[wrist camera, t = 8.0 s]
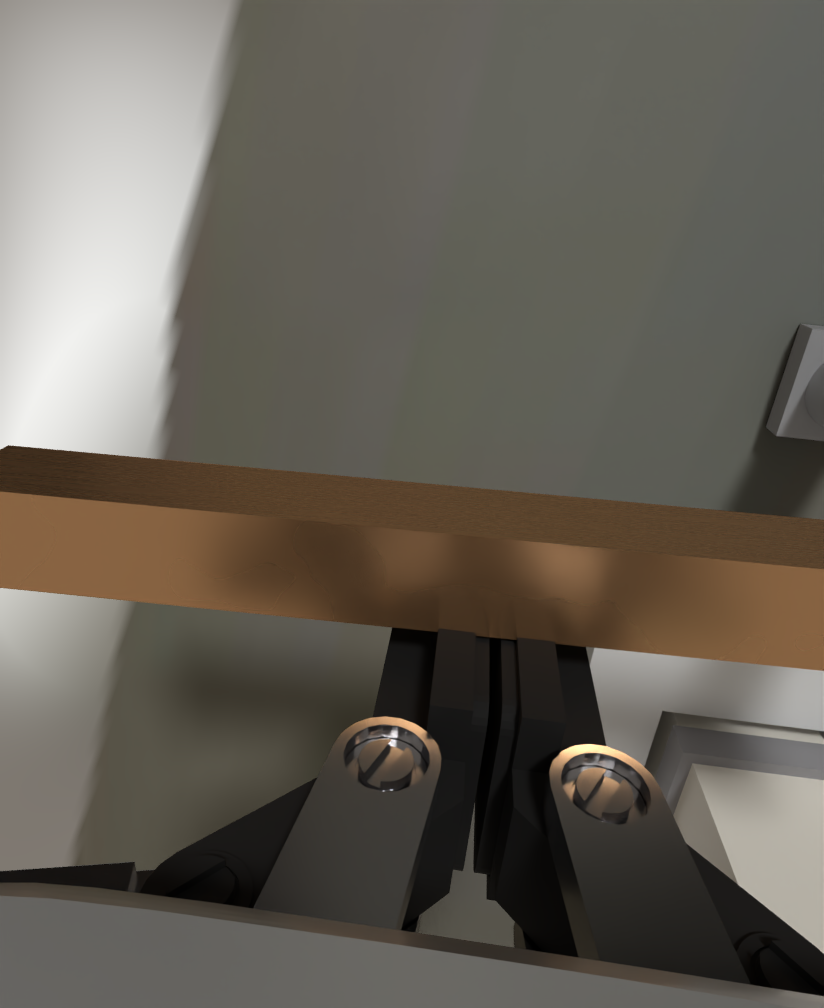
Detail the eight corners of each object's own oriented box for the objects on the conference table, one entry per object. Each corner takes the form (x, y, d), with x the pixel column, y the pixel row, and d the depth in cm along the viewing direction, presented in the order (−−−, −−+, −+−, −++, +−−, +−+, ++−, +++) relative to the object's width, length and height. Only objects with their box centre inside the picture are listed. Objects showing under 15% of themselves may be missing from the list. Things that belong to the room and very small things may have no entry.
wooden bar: (1441, 516, 9) (1686, 600, 7) (1290, 705, 10) (1465, 816, 8) (-4, 390, 10) (-111, 436, 8) (35, 579, 11) (-49, 655, 9)
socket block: (1067, 352, 20) (1796, 559, 9) (809, 856, 29) (1011, 1259, 18) (649, 307, 20) (855, 453, 9) (528, 819, 29) (560, 1191, 19)
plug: (807, 683, 25) (993, 961, 16) (758, 794, 28) (895, 1088, 19) (650, 663, 25) (747, 927, 16) (616, 775, 28) (684, 1058, 19)
